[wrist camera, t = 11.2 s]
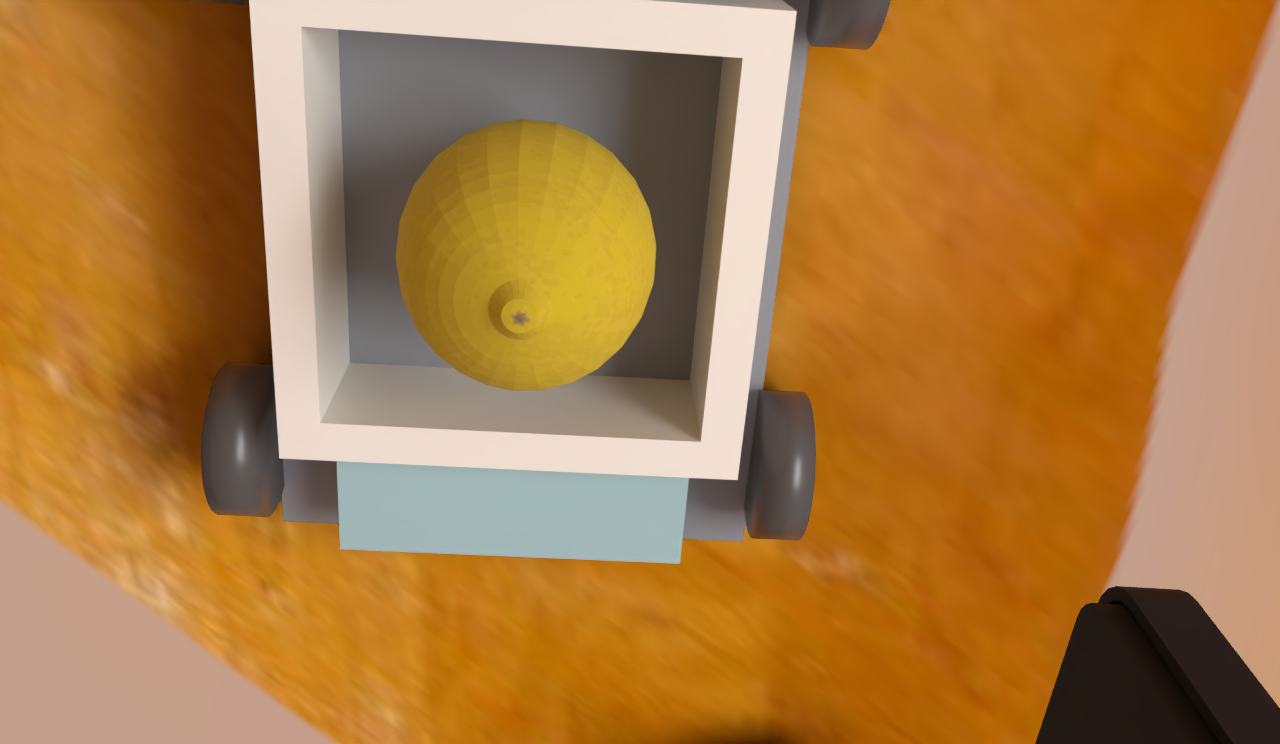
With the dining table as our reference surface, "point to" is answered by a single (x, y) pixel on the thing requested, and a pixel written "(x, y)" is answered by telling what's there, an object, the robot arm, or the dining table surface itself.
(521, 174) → the lemon
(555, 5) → the chassis
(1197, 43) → the dining table surface
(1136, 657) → the robot arm
